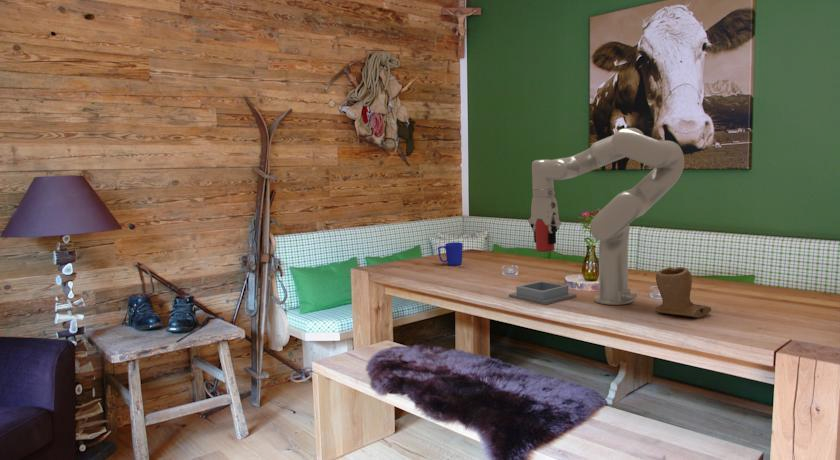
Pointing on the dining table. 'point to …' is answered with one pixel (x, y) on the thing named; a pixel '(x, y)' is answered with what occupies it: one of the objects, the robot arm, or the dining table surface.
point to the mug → (452, 253)
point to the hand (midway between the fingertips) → (545, 242)
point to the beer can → (542, 237)
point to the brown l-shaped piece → (678, 293)
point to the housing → (542, 292)
